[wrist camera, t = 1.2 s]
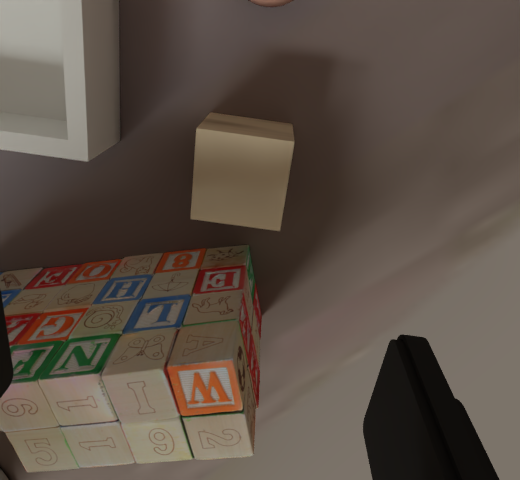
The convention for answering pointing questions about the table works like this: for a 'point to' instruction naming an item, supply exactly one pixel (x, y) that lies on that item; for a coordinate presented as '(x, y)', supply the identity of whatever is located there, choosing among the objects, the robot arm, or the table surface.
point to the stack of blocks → (133, 360)
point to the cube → (241, 171)
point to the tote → (59, 77)
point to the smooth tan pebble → (270, 2)
